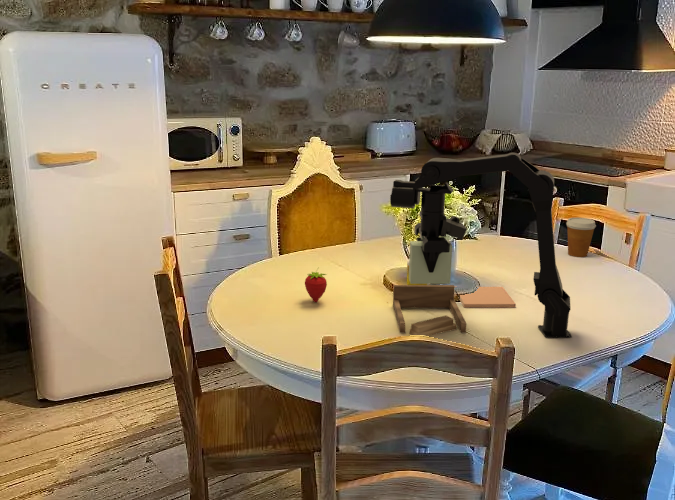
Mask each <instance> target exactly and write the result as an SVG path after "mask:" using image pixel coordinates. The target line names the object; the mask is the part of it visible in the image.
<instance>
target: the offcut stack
mask: <svg viewBox="0 0 675 500" xmlns="http://www.w3.org/2000/svg"><path fill="white" fill-rule="evenodd" d="M454 321H455V319H454V318H453V317H450V316H448V315H442V316H438V317H434V318H431V319H427V320H426V319H425V320H422V321H418V322H414V323H411V326H410V329H409V333H408V334H409V335H411V336H412V335H426V336H425V337H427V336H431V335H436V333H437V334H441V332H442V333H445V332H450V330H451V331H455V330H457V327H458V325H457V323H455V322H454Z"/></svg>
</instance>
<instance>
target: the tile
mask: <svg viewBox="0 0 675 500" xmlns="http://www.w3.org/2000/svg"><path fill="white" fill-rule="evenodd" d="M478 287H479V288H478V289H477V291H475V292H474V293H471V294H465V295H460V299H459V301H460V303H461V305H462V307H463V308H475V309H476V308H479V309H480V308H481V309H482V308H483V309H484V308H489V309H490V308H491V309H493V308H498V309H500V308H504V309H505V308H509V309H511V308H516V306H517V304H516V302H515V300H513V298H512V297H511V295H510V294H509V292H507V290H506V289H505V288H504V287H503V286H478Z"/></svg>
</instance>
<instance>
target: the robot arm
mask: <svg viewBox="0 0 675 500" xmlns="http://www.w3.org/2000/svg"><path fill="white" fill-rule="evenodd" d="M502 172H510V173H511V174H512V175H513V176H514V177H515V178H516V179H517V180H518V181H519V182H521V183H522V184H523V185H524V186H525V187H526V188H527V190H528V194H529V197H530V200H531V204H532V207H533V209H534V213H535V222H536V233H537V245H538V259H539V271H538V272H537V271H534V272H533V273H534V274H533V278H532V279H533V284H534V294H533V295H534V296H537V299H538V302H539V303H541V304H542V305H543V306H544V311H543V313H544V314H543V322H542V325H540V324H539V325H538V326H537V329H538V330H539V331H540V332H541V334H542V335H543V336H544V337H545V338H572V337H573V335H572V334H571V332H570V331H569V330H568V326H569V316H570V311H571V296H569V294H568V293H567V292H566V291H565V290H564V289H563V283H562V279H561V275H560V272H559V269H558V267H557V263H556V250H555V239H554V228H553V227H554V226H553V225H554V223H553V214H552V207H553V198H554V192H555V191H554V190H555V178H554V176H553V175H552V173H551V172H549V171H546V170H543V169H539V168H538V167H536V166H535V165H533V164H532V163H530V162H528V161H527V160H526V159H524V158H523V156H521V155H520V154H519V153H517V152H509V153H505V154H497V155H489V156H481V157H474V158H464V159H455V158H450V157H449V158H448V157H447V158H444V157H433V158H431V159H429V160H428V161H427V162H425V163H424V164H423V165H422V168H421V170H420V176H418V177H417V178H416V179H415V180H414V181H408V180H401V179H395V180H393V182H392V183H393V185H392V187H391V193H390V196H389V197H390V198H389V199H390V206H391V208H402V209H415V207H416V206H418V205H420V202H421V205H420V211H419V217H420V222H418V223H416V224H415V225H414V232H413V233H414V235H415V236H419V237H416V241H422V246H421V250H422V253H423V256H424V259H425V262H426V265H427V268H428V271H429V273H433V272H434V269H435V266H436V263H437V260H438V257H439V254H441V253H448V252H450V244H449V242H448V240H447V238H445V237H447V235H448V236H451V237H453V238H455V239H457V240H460V241H463V239H464V237H465V235H466V232H467V229H468V228H467V227H466V226H465V225H464V224H463V223H460V218H459V217H457V216H455V215H452V216H450V218H448V217H447V216H446V215H445V204H446V203H445V202H446V200H445V199H446V195H448V194H449V195H451V194H452V193H453V192H454V188H452V186H450V184H449V182H448V181H451V180H454V179H456V178H460V177H466V176H467V177H468V176H474V175H475V176H477V175H486V174H493V173H502ZM441 183H444V184H443V185H441ZM439 184H440V185H439ZM428 185H430V187H426V186H428Z"/></svg>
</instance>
